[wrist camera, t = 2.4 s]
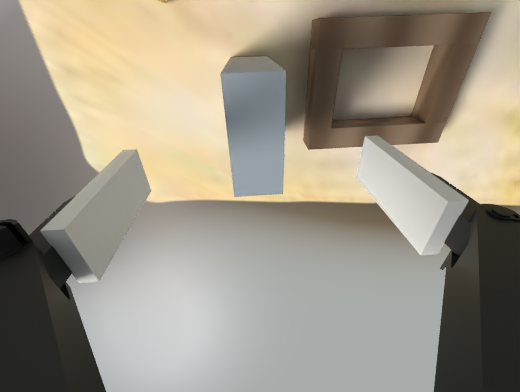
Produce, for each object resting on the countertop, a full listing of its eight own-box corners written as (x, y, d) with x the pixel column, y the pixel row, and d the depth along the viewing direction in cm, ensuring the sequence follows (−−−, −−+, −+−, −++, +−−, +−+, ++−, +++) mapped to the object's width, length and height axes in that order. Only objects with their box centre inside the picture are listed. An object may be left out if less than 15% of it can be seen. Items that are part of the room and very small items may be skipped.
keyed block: (266, 55, 26) (286, 71, 14) (267, 135, 31) (283, 193, 19) (230, 57, 26) (220, 73, 14) (237, 136, 31) (234, 196, 19)
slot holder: (466, 14, 25) (491, 11, 22) (422, 134, 32) (437, 142, 30) (312, 20, 24) (320, 18, 22) (303, 140, 32) (308, 149, 29)
